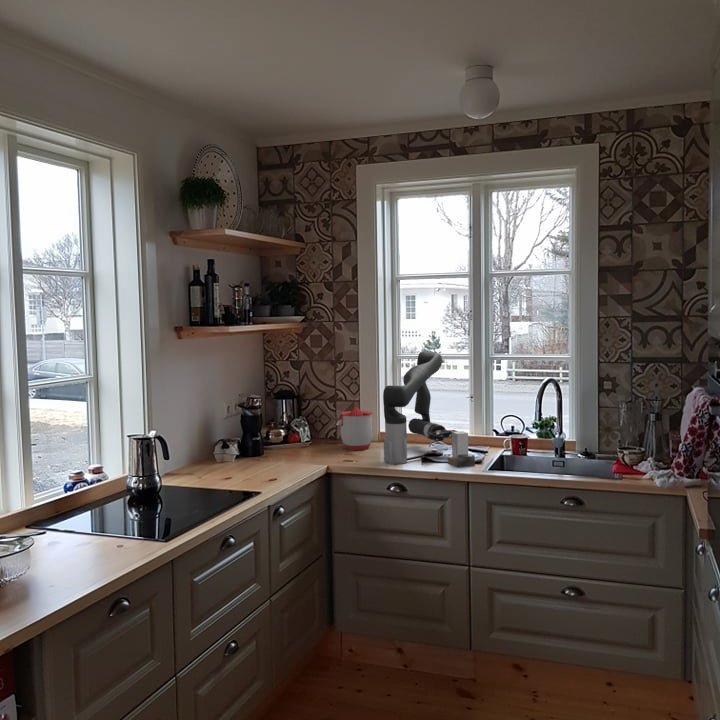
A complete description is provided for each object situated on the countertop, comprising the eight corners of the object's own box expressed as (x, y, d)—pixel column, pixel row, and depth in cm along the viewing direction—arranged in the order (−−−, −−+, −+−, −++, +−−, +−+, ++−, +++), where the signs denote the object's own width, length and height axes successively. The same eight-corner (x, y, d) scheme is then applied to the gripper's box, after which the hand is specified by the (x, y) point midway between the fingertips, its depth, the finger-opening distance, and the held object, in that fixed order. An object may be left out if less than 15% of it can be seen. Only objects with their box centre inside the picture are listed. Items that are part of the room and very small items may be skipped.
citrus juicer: (334, 446, 349) (333, 405, 347) (369, 444, 352) (369, 403, 351) (339, 452, 334) (338, 410, 332) (376, 450, 337) (375, 408, 335)
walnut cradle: (457, 467, 299) (457, 457, 298) (447, 463, 307) (447, 453, 307) (474, 465, 301) (474, 456, 301) (464, 461, 310) (464, 452, 310)
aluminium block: (457, 459, 302) (457, 433, 301) (452, 457, 306) (451, 432, 306) (468, 458, 303) (468, 432, 303) (462, 456, 308) (462, 431, 307)
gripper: (420, 424, 324) (436, 430, 309) (448, 422, 329) (465, 427, 314) (420, 441, 325) (436, 447, 310) (448, 438, 330) (465, 444, 314)
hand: (451, 437), depth 312 cm, fingers open, 8 cm apart
